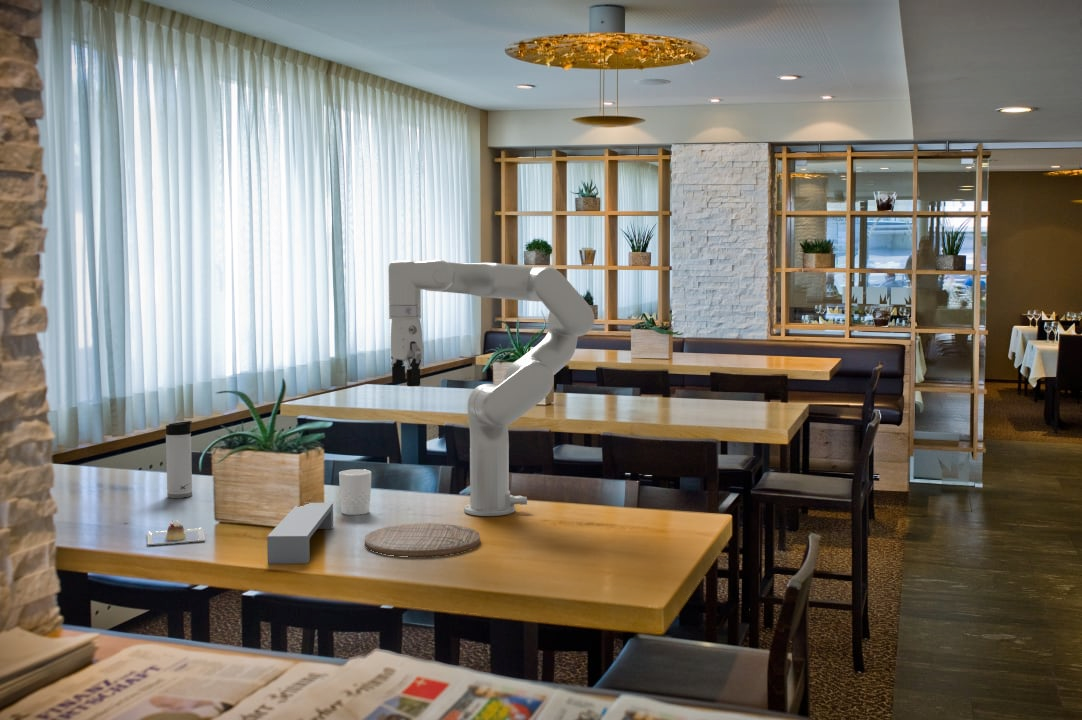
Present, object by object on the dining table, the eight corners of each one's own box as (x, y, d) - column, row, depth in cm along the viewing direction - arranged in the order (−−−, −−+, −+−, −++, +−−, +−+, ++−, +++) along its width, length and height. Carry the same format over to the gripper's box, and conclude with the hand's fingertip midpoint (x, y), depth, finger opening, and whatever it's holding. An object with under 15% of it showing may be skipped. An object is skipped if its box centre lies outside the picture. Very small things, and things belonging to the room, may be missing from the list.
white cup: (368, 515, 267) (368, 475, 267) (336, 515, 268) (335, 475, 267) (374, 509, 275) (373, 469, 275) (342, 508, 275) (342, 469, 275)
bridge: (333, 526, 256) (333, 502, 256) (307, 563, 223) (306, 536, 223) (298, 526, 256) (298, 502, 255) (267, 563, 223) (267, 536, 222)
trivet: (376, 531, 253) (375, 522, 253) (484, 532, 252) (484, 523, 252) (354, 558, 228) (354, 549, 228) (474, 560, 227) (474, 550, 227)
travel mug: (189, 498, 288) (187, 422, 286) (163, 498, 288) (161, 422, 286) (196, 494, 294) (195, 419, 293) (172, 493, 294) (170, 419, 293)
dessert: (147, 536, 248) (146, 515, 248) (202, 532, 252) (202, 512, 252) (147, 549, 237) (146, 527, 236) (205, 544, 241) (205, 523, 240)
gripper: (433, 313, 256) (434, 386, 257) (406, 311, 271) (407, 380, 273) (403, 314, 252) (404, 388, 254) (377, 312, 268) (378, 382, 269)
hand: (406, 384), depth 263 cm, fingers open, 9 cm apart
